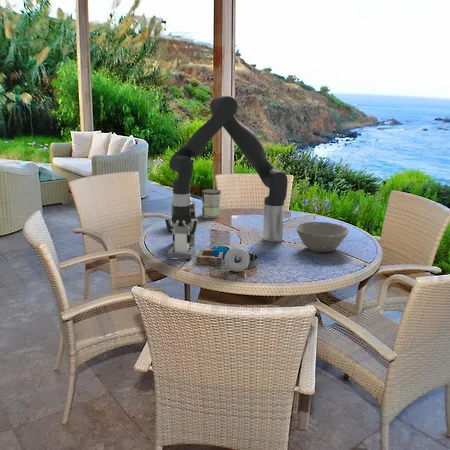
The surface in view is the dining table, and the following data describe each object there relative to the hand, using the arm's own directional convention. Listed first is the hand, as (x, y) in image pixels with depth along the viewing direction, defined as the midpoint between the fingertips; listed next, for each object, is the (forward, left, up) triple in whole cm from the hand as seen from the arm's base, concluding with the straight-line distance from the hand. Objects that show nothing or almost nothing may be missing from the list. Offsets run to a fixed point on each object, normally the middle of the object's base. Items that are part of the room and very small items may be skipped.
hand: (181, 242), depth 211 cm
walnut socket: (-13, +4, -6) cm, 15 cm away
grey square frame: (0, 0, -6) cm, 6 cm away
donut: (-25, +15, -6) cm, 30 cm away
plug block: (0, 0, -4) cm, 4 cm away
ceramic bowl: (-60, -18, -6) cm, 63 cm away
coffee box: (+2, -15, -6) cm, 16 cm away
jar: (+8, -44, -6) cm, 45 cm away
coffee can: (-3, -68, -6) cm, 68 cm away
